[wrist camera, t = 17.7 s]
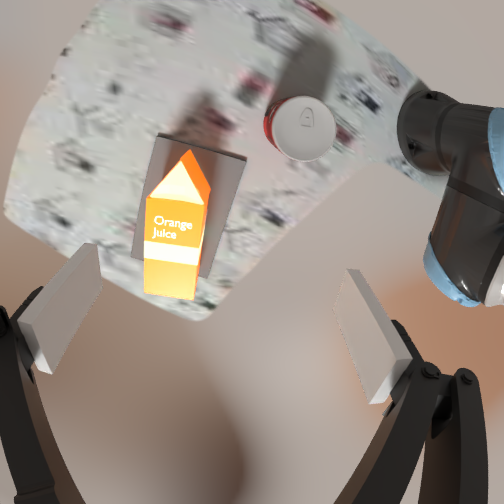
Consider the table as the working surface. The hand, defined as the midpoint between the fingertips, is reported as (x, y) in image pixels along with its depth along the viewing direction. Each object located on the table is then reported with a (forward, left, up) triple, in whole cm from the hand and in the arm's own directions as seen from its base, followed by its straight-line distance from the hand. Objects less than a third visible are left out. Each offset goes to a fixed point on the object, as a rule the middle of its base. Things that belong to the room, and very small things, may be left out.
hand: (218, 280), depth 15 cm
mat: (+4, +9, -32) cm, 34 cm away
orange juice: (+3, +19, -27) cm, 33 cm away
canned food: (-7, -9, -32) cm, 34 cm away
